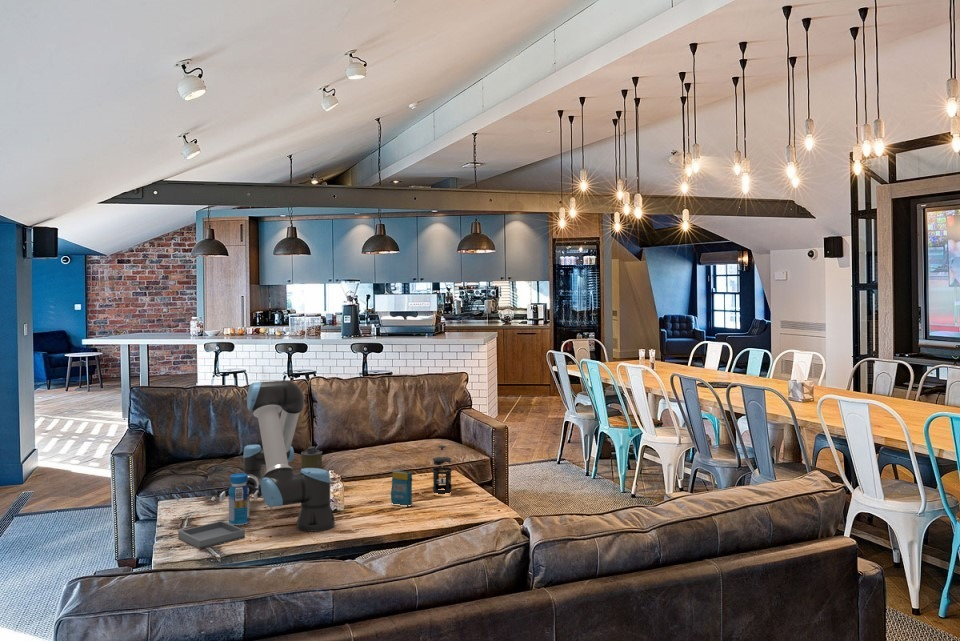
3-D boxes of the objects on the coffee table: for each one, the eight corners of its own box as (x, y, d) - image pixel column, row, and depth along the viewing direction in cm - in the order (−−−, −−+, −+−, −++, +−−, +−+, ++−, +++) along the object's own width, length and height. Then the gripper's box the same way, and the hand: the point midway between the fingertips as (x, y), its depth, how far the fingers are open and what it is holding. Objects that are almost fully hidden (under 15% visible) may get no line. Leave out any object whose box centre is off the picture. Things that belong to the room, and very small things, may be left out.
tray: (244, 537, 280) (244, 529, 280) (199, 549, 267) (199, 541, 266) (222, 527, 292) (222, 520, 292) (178, 538, 279) (178, 530, 279)
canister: (317, 490, 351) (317, 449, 350) (297, 489, 353) (297, 448, 352) (326, 484, 361) (326, 445, 361) (307, 484, 363) (306, 444, 363)
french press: (456, 495, 341) (456, 446, 340) (440, 498, 335) (439, 449, 335) (443, 490, 350) (442, 442, 350) (426, 493, 345) (426, 445, 344)
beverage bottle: (224, 524, 296) (223, 476, 296) (237, 519, 304) (237, 471, 304) (240, 527, 293) (240, 478, 293) (254, 521, 301) (253, 473, 301)
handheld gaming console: (413, 505, 323) (412, 472, 323) (408, 508, 319) (408, 474, 319) (394, 503, 327) (394, 470, 327) (389, 505, 323) (389, 472, 323)
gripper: (277, 492, 319) (269, 506, 298) (218, 494, 316) (206, 508, 295) (277, 475, 319) (268, 487, 298) (218, 477, 316) (206, 490, 295)
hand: (237, 498), depth 296 cm, fingers open, 13 cm apart
